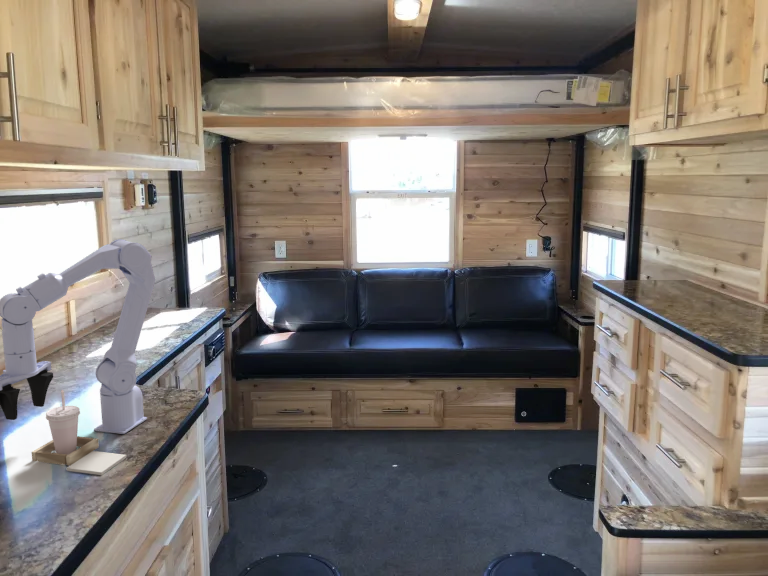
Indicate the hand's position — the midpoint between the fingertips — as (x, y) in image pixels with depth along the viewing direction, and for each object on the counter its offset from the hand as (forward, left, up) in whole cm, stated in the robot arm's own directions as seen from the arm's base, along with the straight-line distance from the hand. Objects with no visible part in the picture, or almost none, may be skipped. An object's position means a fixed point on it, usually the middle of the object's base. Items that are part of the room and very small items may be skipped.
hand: (25, 412), depth 132 cm
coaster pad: (+2, +19, -8) cm, 21 cm away
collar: (0, +9, -8) cm, 13 cm away
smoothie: (0, +9, -9) cm, 13 cm away
